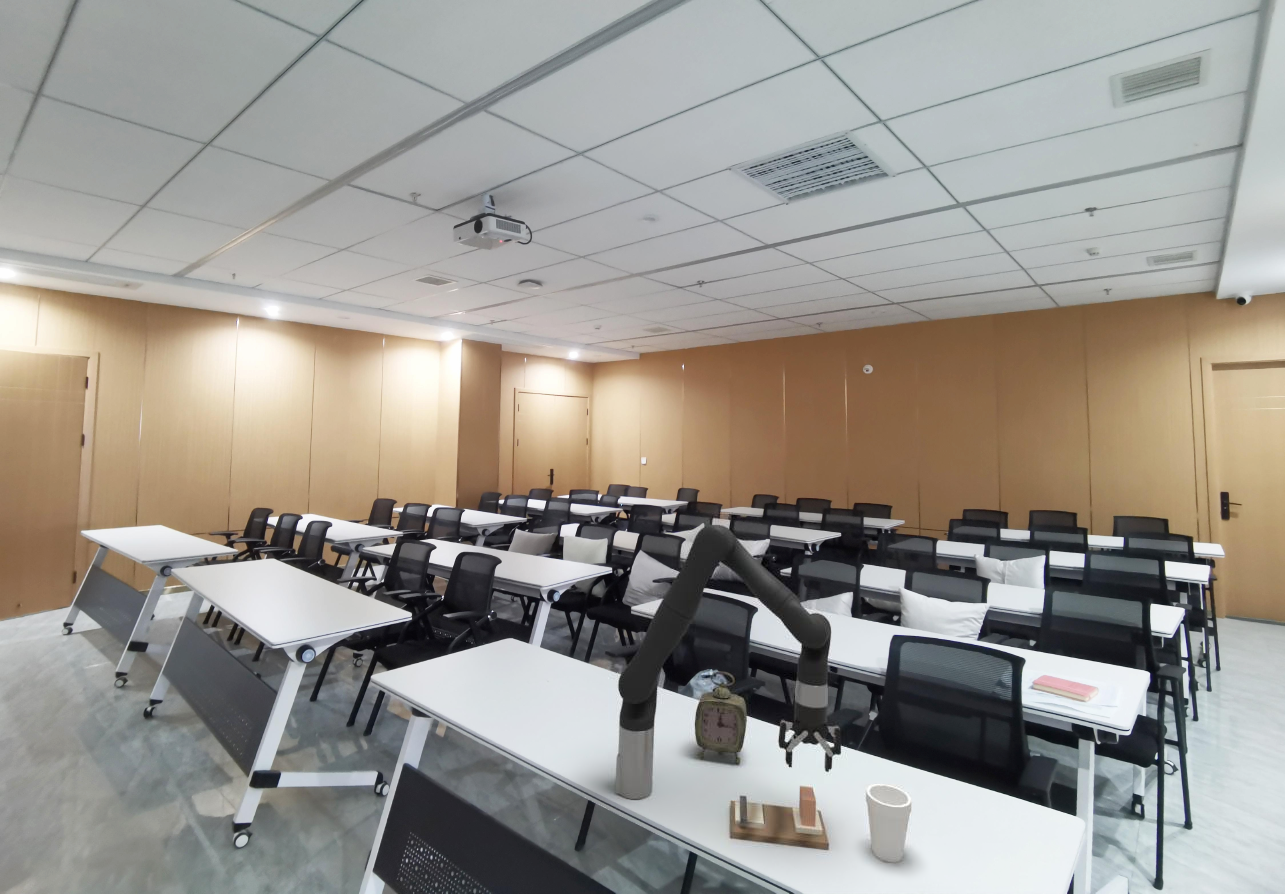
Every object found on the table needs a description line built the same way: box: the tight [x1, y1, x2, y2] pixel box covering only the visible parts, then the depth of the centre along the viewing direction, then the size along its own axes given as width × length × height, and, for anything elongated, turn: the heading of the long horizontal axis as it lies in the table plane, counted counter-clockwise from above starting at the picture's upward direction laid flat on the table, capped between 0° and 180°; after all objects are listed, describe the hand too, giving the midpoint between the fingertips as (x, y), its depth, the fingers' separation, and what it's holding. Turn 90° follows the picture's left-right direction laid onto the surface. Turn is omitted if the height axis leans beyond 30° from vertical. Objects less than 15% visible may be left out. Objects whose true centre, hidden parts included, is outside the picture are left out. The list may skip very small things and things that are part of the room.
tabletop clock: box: [694, 671, 748, 765], centre depth 180 cm, size 14×9×25 cm, turn 76°
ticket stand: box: [730, 795, 830, 851], centre depth 146 cm, size 22×13×4 cm, turn 82°
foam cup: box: [865, 783, 912, 863], centre depth 138 cm, size 10×9×13 cm
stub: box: [792, 785, 823, 835], centre depth 145 cm, size 6×8×7 cm
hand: (808, 767), depth 145 cm, fingers open, 8 cm apart
